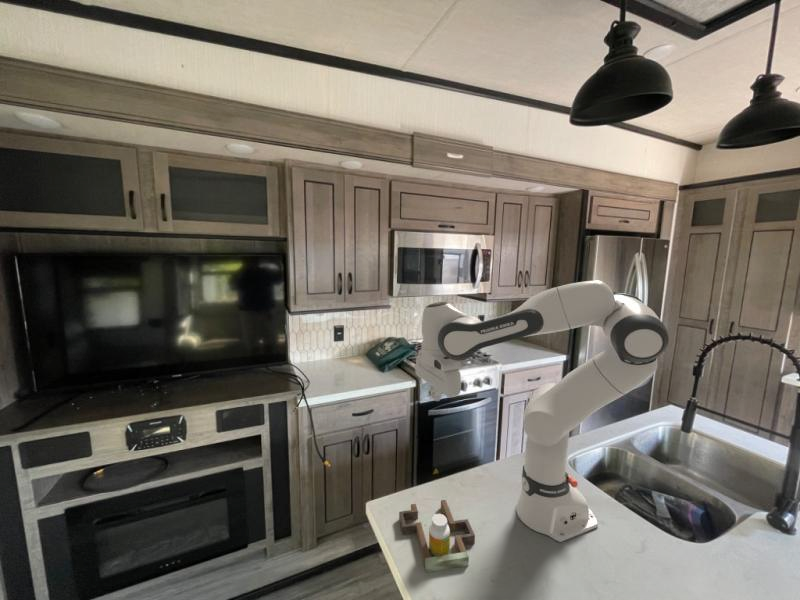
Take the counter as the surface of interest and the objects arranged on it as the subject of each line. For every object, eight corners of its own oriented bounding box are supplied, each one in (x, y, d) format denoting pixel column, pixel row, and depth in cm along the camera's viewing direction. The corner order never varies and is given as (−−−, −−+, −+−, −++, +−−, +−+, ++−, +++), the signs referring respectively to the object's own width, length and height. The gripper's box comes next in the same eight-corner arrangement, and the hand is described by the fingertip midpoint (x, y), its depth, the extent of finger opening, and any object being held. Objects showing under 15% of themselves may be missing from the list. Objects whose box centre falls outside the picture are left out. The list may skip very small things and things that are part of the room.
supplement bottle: (444, 565, 84) (445, 531, 82) (425, 555, 87) (425, 522, 85) (452, 548, 88) (453, 516, 87) (434, 539, 91) (434, 508, 90)
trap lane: (457, 505, 103) (457, 498, 103) (483, 562, 84) (483, 554, 84) (398, 513, 100) (398, 506, 100) (410, 575, 81) (410, 566, 81)
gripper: (410, 347, 107) (410, 388, 109) (446, 368, 89) (445, 416, 91) (427, 345, 109) (427, 384, 112) (465, 364, 91) (463, 411, 93)
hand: (435, 399), depth 101 cm, fingers closed
